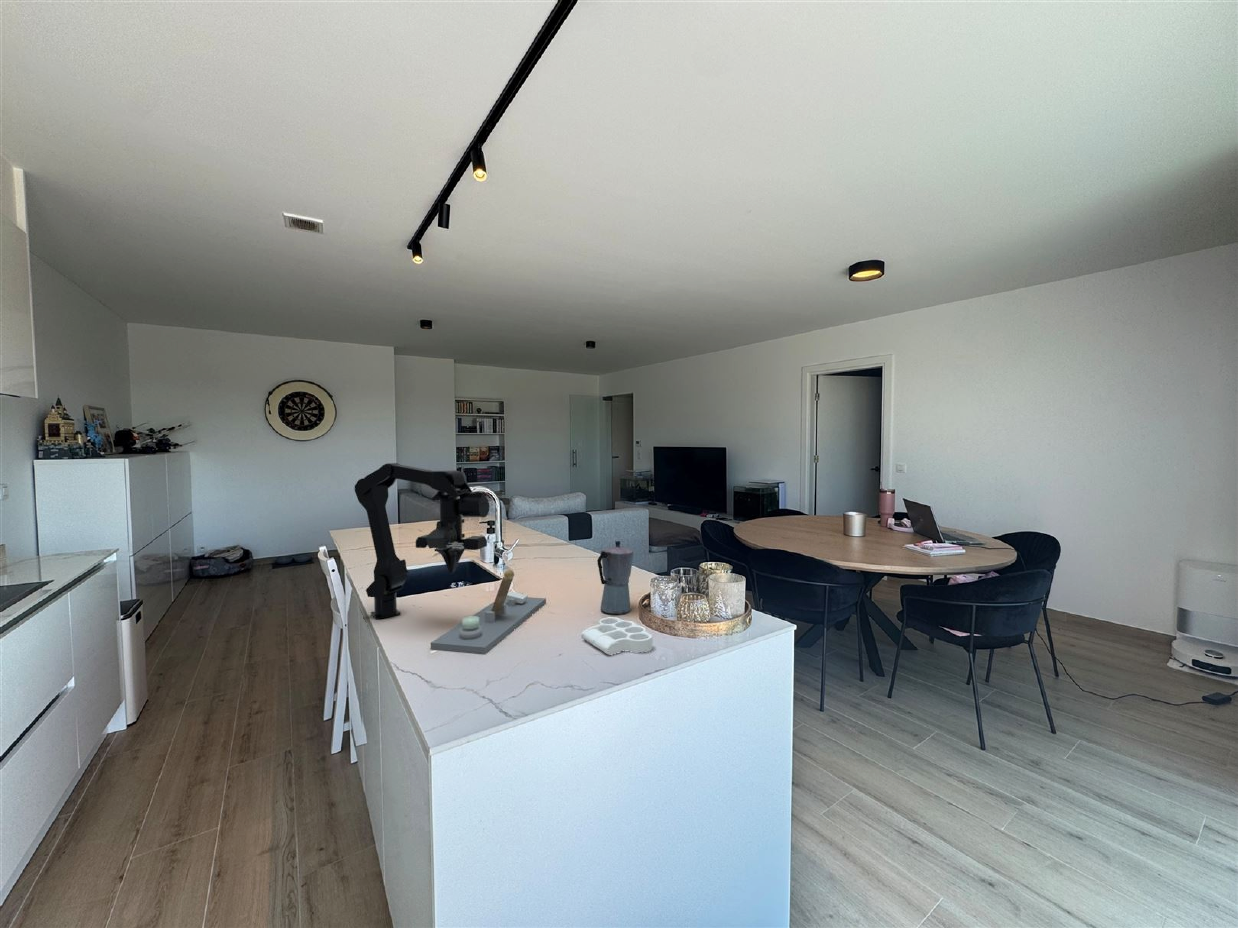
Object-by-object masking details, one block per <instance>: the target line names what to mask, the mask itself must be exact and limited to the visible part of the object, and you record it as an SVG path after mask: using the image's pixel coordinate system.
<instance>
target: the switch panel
mask: <svg viewBox="0 0 1238 928" xmlns="http://www.w3.org/2000/svg"><path fill="white" fill-rule="evenodd" d="M519 593H520V594H524V592H519ZM494 602H495V601H493V602H491V603H490V604H489V605H487V606H485V607H484V608H483V609H480V610H479V611H477V612H476V613H474V614H473V615H472V616H477V617H479V627H477V628H474V629H464V628H462V622H461V623H459V624H457V625H456V626H454V627H453V628H451V629H450V630H447V631H446V632H445V633H443V634H442V635H441V636H439V637H437V638H436V639H434V640H432V641H431V642H430V649H431V650H438V651H449V652H457V653H458V652H459V653H461V652H462V653H471V654H481V655H486V654H487V653H488V652H489V651H490V650H492V649H493V648H494V647H495V646H497V644H499V643H500V642H502V640H504V639H505V638H506V637H507V636H509V635H510V634H511V633H512V632H513V631H515V630H516V629H517V628H519V626H521V625H522V624H523V623H524V622H526V621H527V620H528V619H529V618H531V617H532V616H533V615H532V614H533V613H534V614H535V613H536V612H537V611H538V610H540V609H541V608H542V607H543V606H545V605H546V604H547V597H546V598H545V597H544V598H543V597H532V596H531V597H529V596H528V597H527V600H526V601H525V602H524V603H522V604H521V603H517V602H515V599H512V598H510V599H509V600H505V602H504V605H503V608H502V613H500V614H499V615H498V616H496V617H495V612H492V611H491V610H492V607H493V604H494ZM545 603H546V604H545ZM544 604H545V605H544ZM539 608H540V609H539ZM526 619H527V620H526ZM514 629H515V630H514Z"/></svg>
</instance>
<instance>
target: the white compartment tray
mask: <svg viewBox="0 0 1238 928" xmlns="http://www.w3.org/2000/svg"><path fill="white" fill-rule="evenodd" d="M580 636H581V637H580V638H582V640H585V641H586V642H587V643H589V644H591V645H593V647H595V648H598V649H599V650H601V651H602V652H603V653H605V654H607V655H609V656H612V655H611V654H614V653H617V652H621V651H623V650H624V651H625V650H629V651H632V652H646V651H649V650H650V649H652V650H653V634H651V632H649V631H647V629H646V628H645V627H644V626H642V625H639V624H637V623H636V622H635V621H630V620H623V619H621V618H619V617H616V616H614V617H613V616H610V617H604V618H601V619H600V620H599V621H598V625H593V626H590V627H588V628H586V629H584V630H583V631H582V632H581V634H580ZM632 652H631V653H632ZM649 652H650V651H649ZM621 653H622V652H621ZM646 653H647V652H646Z"/></svg>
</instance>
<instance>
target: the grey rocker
mask: <svg viewBox="0 0 1238 928" xmlns="http://www.w3.org/2000/svg"><path fill="white" fill-rule="evenodd" d="M520 593H521V592H515V591H512V590H511V591H510V590H509V591H508V594H507V597H506V600H509V599H510V598H512V599H515V602H517V603H521V604H522V603H524V602H525V601H526V600H527V597H529V596H528V594H524V593H523V594H520Z"/></svg>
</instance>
